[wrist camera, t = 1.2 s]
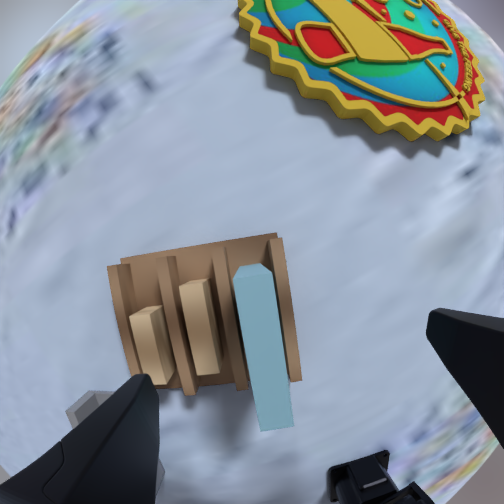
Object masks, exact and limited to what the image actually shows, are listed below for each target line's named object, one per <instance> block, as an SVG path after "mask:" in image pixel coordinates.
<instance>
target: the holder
mask: <svg viewBox="0 0 504 504" xmlns="http://www.w3.org/2000/svg"><path fill="white" fill-rule="evenodd" d="M113 393H114V392H107V391H88V392H87V393H86V394H84V395H83V396H82V397H81V398H80V399H79V400H78V401H76V402H75V403H74V404H73V405H72V406H71V407H70V408H69V409H67V410H66V411H65V412H66V414H67V416H68V419H69V421H70V423H71V425H72V428H73V429H74V428H75V427H76V426H77V425H78V424H79V423H81V422H82V421H83V420H84V419H85V418H86V417H87V416H89V415H90V414H91V413H92V412H93V411H94V410H95V409H96V408H98V407H99V406H100V405H101V404H102V403H103V402H104V401H105V400H107V399H108V398H109V397H110V396H111V395H112V394H113ZM164 473H165V470H164V468H163V466H162V464H161V462H160V459H159V457H158V467H157V480H156V495H157V492H158V489H159V487H160V484H161V481H162V478H163V476H164ZM156 495H155V497H156Z"/></svg>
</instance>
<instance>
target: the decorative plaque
mask: <svg viewBox="0 0 504 504" xmlns="http://www.w3.org/2000/svg"><path fill="white" fill-rule="evenodd" d="M238 7H239V8H240V9H241V11H240V12H239V26H240V27H241V28H243V29H245V30H246V31H248V32H250V49H251V50H254V51H257V52H259V53H262V54H264V55H267V56H268V57H269V59H270V71H271V72H272V73H273V74H276V75H281V76H285V77H289V78H291V79H293V80H294V81H295V83H296V85H297V87H298V90H299V92H300V95H301V96H302V97H304V98H310V99H320V100H324V101H326V102H327V103H328V104H329V106H330V107H331V108H332V110H333V111H334V113H335V114H336V116H337V117H339V118H340V119H348V118H360V119H362V120H363V121H364V122H365V123H366V124H367V125H368V126H369V127H370V128H371V129H372V130H373V131H374V132H375V133H377V134H381V133H384V132H386V131H389V130H391V129H394V130H396V131H398V132H399V133H400V134H401V135H402V136H404V137H405V138H406V139H407V140H409V141H411V142H412V141H414V140H416V139H417V138H419V137H420V136H422V135H423V134H426V135H427V136H429V137H431V138H432V139H434V140H435V141H440V140H442V139H443V138H445V137H447V136H449V135H450V134H451V132H452V133H454V134H459V133H461V132H463V131H464V130H466V129H468V128H469V122H471V121H472V120H474V119H476V118H477V117H479V116H480V110H479V106H478V104H480V103H481V102H483V101H484V100H485V96H484V94H483V91H482V89H481V86H480V85H481V84H482V83H483V82H484V81H485V80H484V78H483V76H482V75H481V73H480V71H479V70H478V68H477V65H478V63H479V60H478V58H477V57H476V56H475V55H474V53H473V52H472V51H471V50H470V48H469V41H468V39H467V38H466V37H465V36H464V35H463V34H462V33H461V32H460V31H459V30H458V29H457V27H456V24H455V22H454V20H453V19H451V18H450V17H449V16H447V15H446V14H445V13H443V12H442V11H441V9H440V7H439V6H438V4H437V3H436V2H434V1H432V0H238ZM463 115H464V117H465V118H464V117H463Z"/></svg>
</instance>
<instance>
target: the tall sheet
mask: <svg viewBox="0 0 504 504" xmlns="http://www.w3.org/2000/svg"><path fill="white" fill-rule="evenodd" d="M233 284H234V290H235V296H236V302H237V307H238V313H239V319H240V325H241V330H242V336H243V342H244V347H245V353H246V358H247V364H248V369H249V374H250V380H251V385H252V390H253V395H254V401H255V406H256V411H257V416H258V421H259V426H260V431H261V432H262V431H268V430H275V429H281V428H287V427H292V426H294V421H293V414H292V406H291V399H290V391H289V384H288V377H287V370H286V363H285V356H284V349H283V342H282V335H281V328H280V321H279V315H278V308H277V301H276V295H275V288H274V282H273V275H272V272H271V271H269V270H268V269H267V268H266V267H264V266H263V265H262V264H261V263H258V264H252V265H245V266H240V267H239V268H238V270H237V272H236V274H235V276H234V278H233Z"/></svg>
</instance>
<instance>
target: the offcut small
mask: <svg viewBox="0 0 504 504" xmlns="http://www.w3.org/2000/svg"><path fill="white" fill-rule="evenodd" d="M129 318H130V323H131V327H132V331H133V336H134V340H135V344H136V348H137V352H138V356H139V359H140V363H141V367H142V370H143V373H147V374H149V375H150V377H151V379H152V382H153V384H154V385H161V384H167V383H168V381H169V379H170V378H171V376H172V375H173V373H174V371H175V370H176V368H177V364H176V360H175V356H174V352H173V347H172V343H171V339H170V334H169V330H168V325H167V320H166V315H165V310H164V305H159V306H151V307H146V308H144V309H142V310H140V311H138V312H136V313H135V314H133V315H131V316H129Z"/></svg>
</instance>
